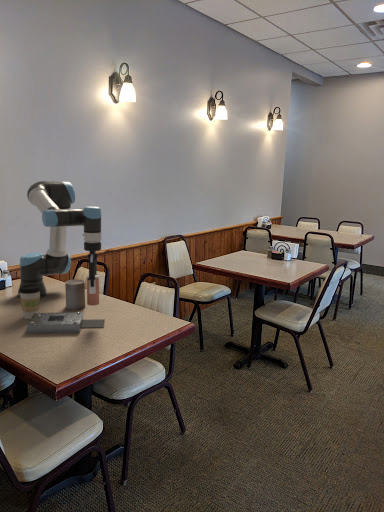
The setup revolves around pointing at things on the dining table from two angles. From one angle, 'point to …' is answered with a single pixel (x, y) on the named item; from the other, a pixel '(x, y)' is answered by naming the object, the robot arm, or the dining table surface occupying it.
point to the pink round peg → (93, 298)
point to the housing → (55, 323)
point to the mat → (93, 323)
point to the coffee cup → (30, 299)
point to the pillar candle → (75, 294)
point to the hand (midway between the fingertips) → (93, 291)
